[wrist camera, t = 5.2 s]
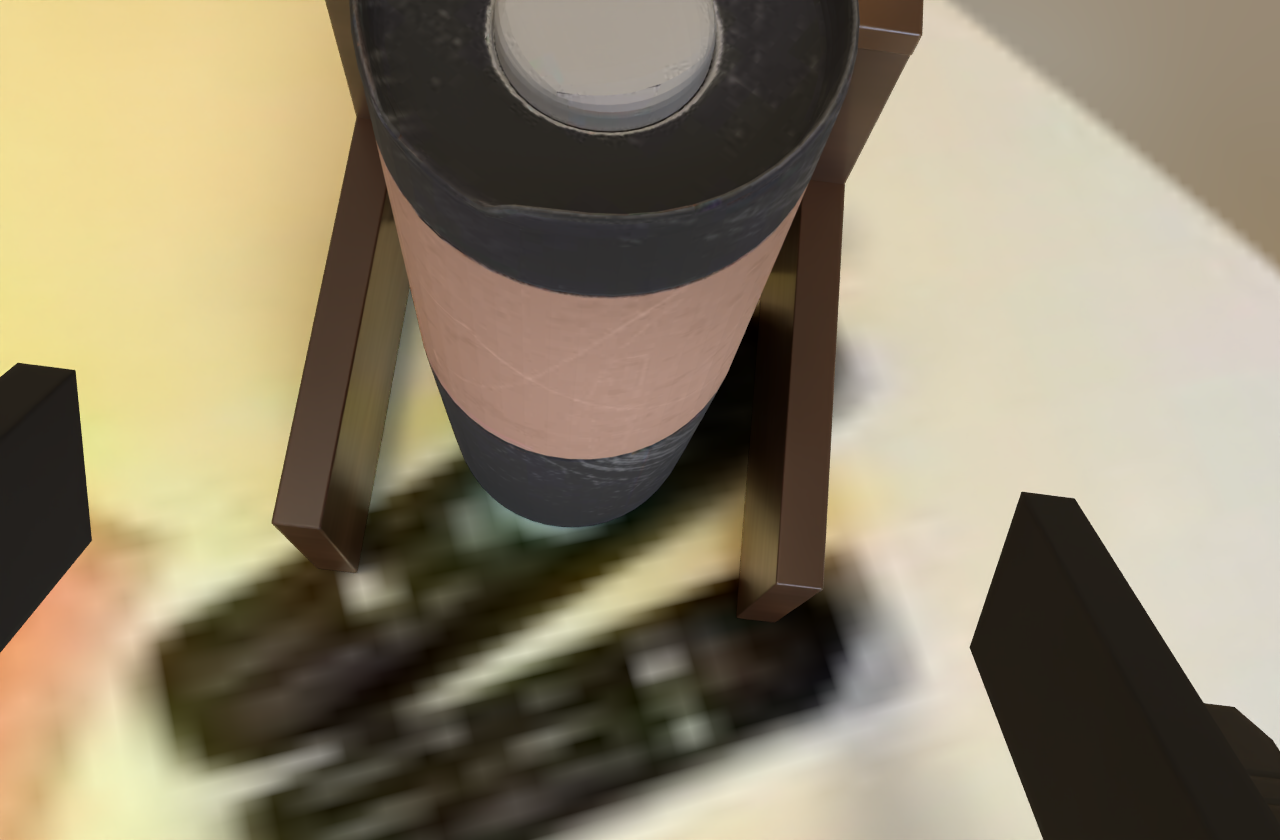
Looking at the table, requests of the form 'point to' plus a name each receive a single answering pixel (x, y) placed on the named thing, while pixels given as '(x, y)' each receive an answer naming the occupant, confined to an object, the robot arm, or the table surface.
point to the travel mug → (593, 215)
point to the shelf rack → (785, 361)
